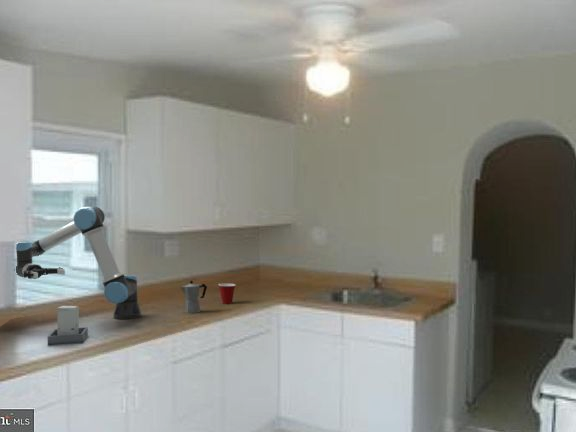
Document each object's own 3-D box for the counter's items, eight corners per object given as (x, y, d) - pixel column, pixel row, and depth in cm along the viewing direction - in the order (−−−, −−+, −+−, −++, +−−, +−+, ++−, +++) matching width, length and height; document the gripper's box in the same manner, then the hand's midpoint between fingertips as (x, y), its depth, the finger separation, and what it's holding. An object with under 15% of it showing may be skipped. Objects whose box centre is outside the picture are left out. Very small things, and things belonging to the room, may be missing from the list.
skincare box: (57, 339, 268) (55, 307, 267) (62, 336, 274) (61, 305, 273) (75, 339, 267) (73, 307, 267) (80, 336, 273) (78, 305, 273)
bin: (87, 335, 279) (87, 327, 279) (83, 342, 264) (82, 334, 264) (54, 337, 276) (54, 329, 276) (47, 345, 261) (47, 336, 261)
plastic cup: (238, 303, 353) (238, 284, 352) (221, 305, 349) (220, 285, 348) (233, 301, 363) (233, 282, 362) (216, 302, 359) (216, 283, 358)
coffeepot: (182, 314, 325) (181, 282, 324) (179, 311, 334) (178, 280, 333) (209, 311, 330) (208, 280, 330) (205, 308, 339) (204, 278, 339)
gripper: (56, 275, 312) (75, 278, 298) (8, 281, 294) (25, 284, 280) (55, 261, 312) (74, 263, 298) (7, 266, 294) (25, 269, 279)
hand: (50, 273), depth 289 cm, fingers open, 13 cm apart
